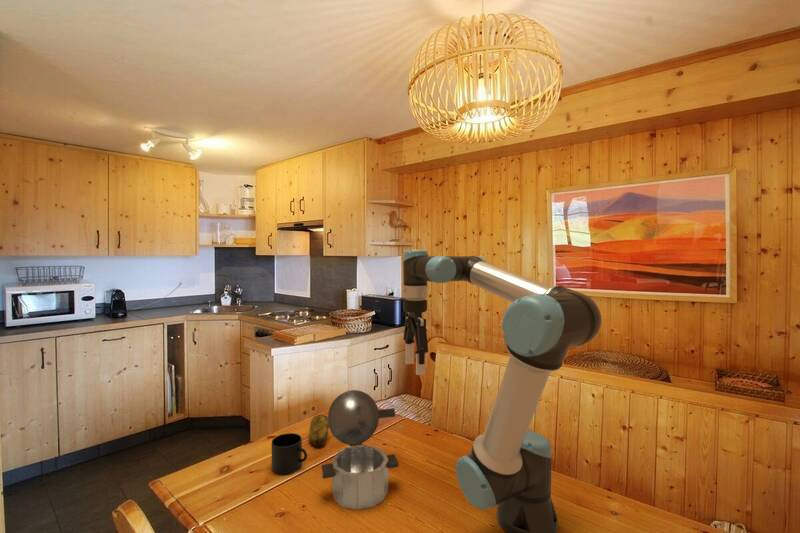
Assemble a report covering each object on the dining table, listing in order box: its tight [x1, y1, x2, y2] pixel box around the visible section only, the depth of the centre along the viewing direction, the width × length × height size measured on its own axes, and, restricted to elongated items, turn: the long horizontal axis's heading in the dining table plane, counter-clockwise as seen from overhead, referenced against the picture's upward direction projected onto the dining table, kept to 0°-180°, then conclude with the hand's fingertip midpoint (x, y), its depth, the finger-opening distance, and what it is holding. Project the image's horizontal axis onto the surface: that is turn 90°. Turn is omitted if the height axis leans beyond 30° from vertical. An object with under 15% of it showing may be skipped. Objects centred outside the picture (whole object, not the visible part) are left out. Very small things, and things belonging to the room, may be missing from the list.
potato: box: [308, 414, 330, 447], centre depth 141 cm, size 8×13×8 cm, turn 172°
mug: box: [271, 432, 308, 476], centre depth 123 cm, size 9×12×9 cm
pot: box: [321, 444, 399, 511], centre depth 112 cm, size 17×22×9 cm
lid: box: [327, 389, 396, 447], centre depth 124 cm, size 17×22×3 cm
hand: (414, 368), depth 119 cm, fingers open, 10 cm apart
